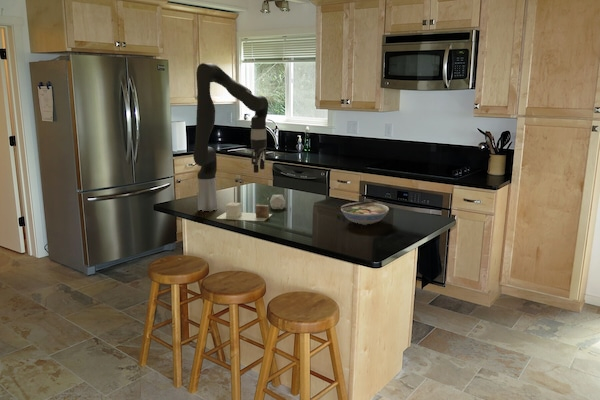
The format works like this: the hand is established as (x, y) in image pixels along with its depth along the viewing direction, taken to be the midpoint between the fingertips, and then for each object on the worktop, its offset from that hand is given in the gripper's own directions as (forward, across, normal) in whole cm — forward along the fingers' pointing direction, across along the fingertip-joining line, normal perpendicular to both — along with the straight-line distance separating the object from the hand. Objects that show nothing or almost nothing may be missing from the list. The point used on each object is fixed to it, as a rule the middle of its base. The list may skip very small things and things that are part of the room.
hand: (259, 170), depth 255 cm
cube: (+23, +5, -12) cm, 26 cm away
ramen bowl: (+22, 0, +53) cm, 57 cm away
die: (+23, -15, +5) cm, 28 cm away
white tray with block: (+23, +5, -6) cm, 24 cm away
